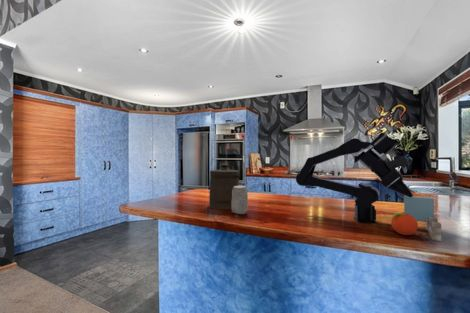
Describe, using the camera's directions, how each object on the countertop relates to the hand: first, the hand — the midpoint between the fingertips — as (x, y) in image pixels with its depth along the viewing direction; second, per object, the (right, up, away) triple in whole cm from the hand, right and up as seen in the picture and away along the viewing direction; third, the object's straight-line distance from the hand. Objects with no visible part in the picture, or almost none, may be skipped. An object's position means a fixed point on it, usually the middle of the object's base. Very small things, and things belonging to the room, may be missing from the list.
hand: (411, 194), depth 81 cm
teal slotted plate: (+2, -12, -1) cm, 12 cm away
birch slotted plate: (0, -12, -9) cm, 15 cm away
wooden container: (-68, -12, +34) cm, 77 cm away
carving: (-61, -12, +19) cm, 65 cm away
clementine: (-9, -12, -8) cm, 17 cm away
